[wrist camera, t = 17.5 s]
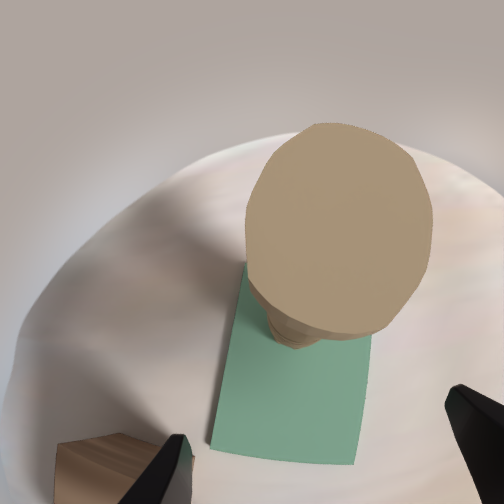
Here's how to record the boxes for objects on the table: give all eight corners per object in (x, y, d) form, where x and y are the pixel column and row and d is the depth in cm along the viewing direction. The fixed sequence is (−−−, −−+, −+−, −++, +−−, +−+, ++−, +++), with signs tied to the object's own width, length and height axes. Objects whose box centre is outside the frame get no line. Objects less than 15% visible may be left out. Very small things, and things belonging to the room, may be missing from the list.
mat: (351, 463, 17) (353, 464, 16) (211, 447, 18) (209, 448, 17) (371, 282, 23) (374, 280, 22) (245, 265, 24) (245, 262, 23)
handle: (243, 357, 20) (205, 286, 7) (277, 276, 23) (294, 108, 9) (309, 381, 19) (410, 358, 6) (338, 297, 22) (434, 156, 8)
